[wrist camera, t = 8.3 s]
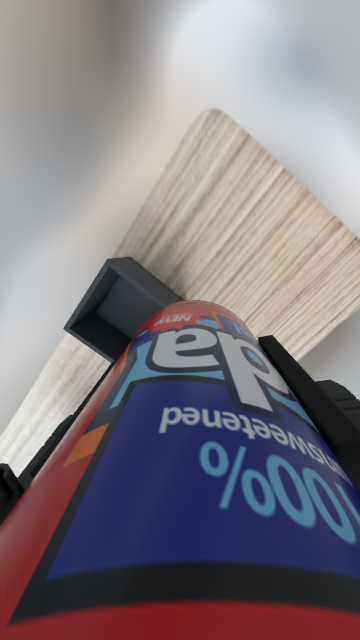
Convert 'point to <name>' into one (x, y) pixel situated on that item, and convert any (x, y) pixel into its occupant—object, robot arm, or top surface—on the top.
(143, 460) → the soda can
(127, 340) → the open top storage bin
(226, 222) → the top surface
